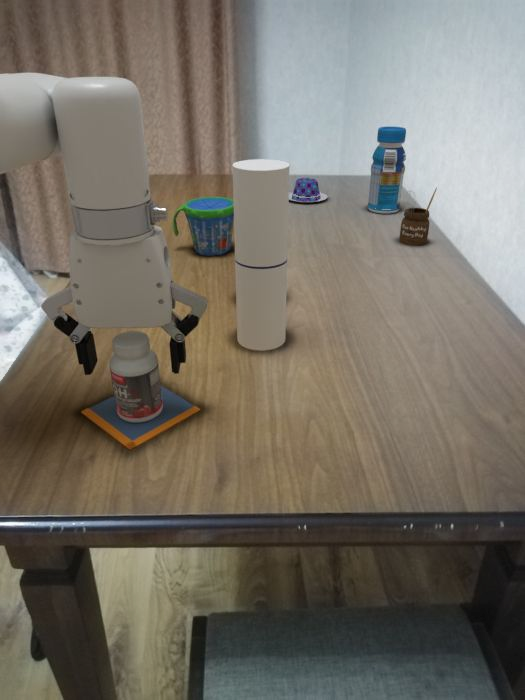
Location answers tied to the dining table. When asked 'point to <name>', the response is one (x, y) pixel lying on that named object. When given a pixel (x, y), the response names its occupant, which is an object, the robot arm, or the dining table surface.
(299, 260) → the dining table surface
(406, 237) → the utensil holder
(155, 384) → the pill bottle
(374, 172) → the beverage bottle
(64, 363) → the dining table surface
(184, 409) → the corner pad
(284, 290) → the cylindrical container
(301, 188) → the purple patterned hat
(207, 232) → the snack cup
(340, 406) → the dining table surface
